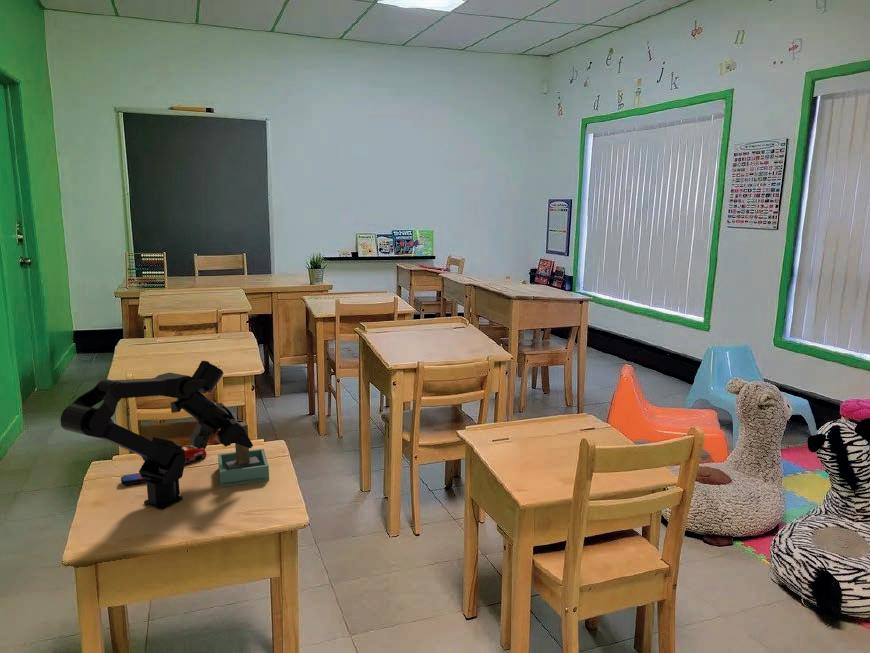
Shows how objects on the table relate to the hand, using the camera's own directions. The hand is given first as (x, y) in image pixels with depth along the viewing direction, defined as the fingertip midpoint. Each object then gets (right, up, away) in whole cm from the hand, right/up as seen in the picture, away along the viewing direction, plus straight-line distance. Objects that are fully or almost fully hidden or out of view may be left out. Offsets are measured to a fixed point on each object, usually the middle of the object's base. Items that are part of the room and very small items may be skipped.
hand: (247, 440), depth 170 cm
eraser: (-25, -10, -3) cm, 28 cm away
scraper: (-1, -8, +1) cm, 8 cm away
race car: (-20, -8, +8) cm, 23 cm away
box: (-1, -9, +1) cm, 9 cm away
